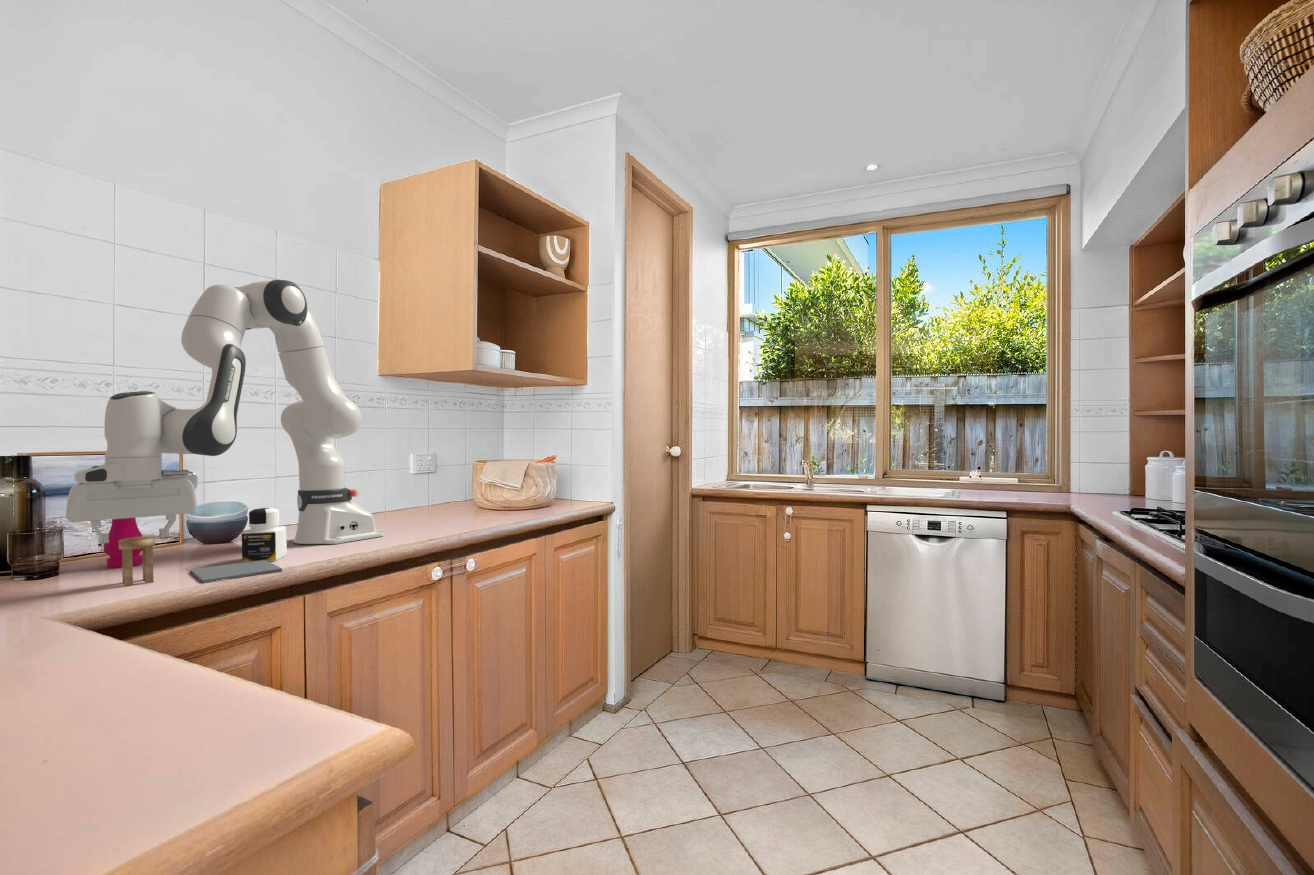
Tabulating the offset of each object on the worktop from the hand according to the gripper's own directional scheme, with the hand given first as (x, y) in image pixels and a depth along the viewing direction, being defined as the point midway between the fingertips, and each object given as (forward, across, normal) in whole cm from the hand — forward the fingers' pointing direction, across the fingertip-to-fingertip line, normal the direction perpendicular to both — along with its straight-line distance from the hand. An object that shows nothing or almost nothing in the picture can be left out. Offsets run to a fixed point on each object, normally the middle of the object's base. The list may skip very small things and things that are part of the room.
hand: (134, 540), depth 127 cm
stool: (+9, 0, 0) cm, 9 cm away
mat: (+8, -16, +4) cm, 19 cm away
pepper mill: (+9, 0, -24) cm, 26 cm away
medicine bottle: (+8, -24, -7) cm, 27 cm away
